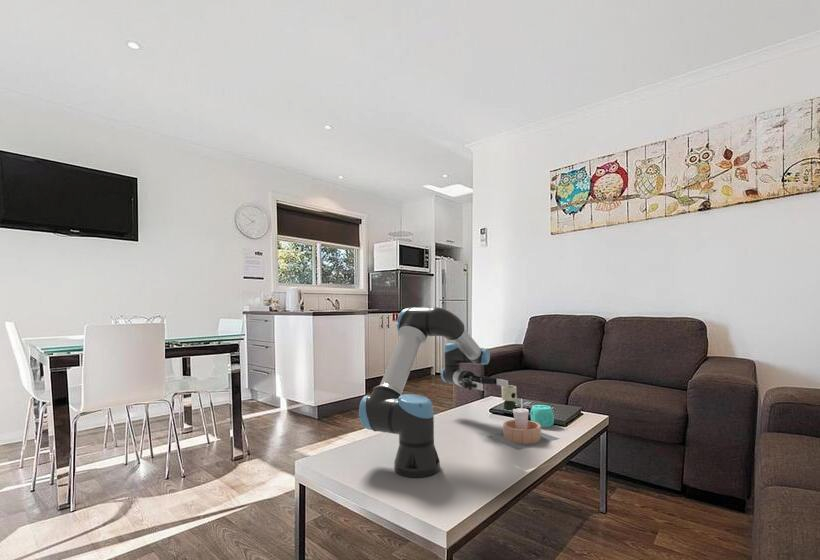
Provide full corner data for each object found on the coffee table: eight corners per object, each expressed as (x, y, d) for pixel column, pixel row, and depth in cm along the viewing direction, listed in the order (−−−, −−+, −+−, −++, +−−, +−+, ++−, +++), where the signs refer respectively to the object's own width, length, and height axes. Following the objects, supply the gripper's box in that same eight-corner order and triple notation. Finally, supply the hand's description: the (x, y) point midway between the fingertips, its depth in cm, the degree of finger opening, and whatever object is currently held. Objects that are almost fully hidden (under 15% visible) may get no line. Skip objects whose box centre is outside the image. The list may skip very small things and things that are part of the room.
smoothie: (531, 437, 161) (529, 401, 161) (514, 437, 162) (512, 401, 163) (529, 432, 167) (527, 397, 168) (513, 432, 168) (511, 397, 169)
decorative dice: (530, 423, 185) (530, 404, 186) (548, 422, 185) (548, 404, 185) (535, 428, 177) (534, 409, 178) (554, 428, 177) (553, 409, 178)
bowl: (522, 446, 155) (522, 432, 155) (496, 436, 167) (496, 423, 167) (548, 439, 162) (548, 426, 162) (522, 429, 174) (521, 417, 174)
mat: (518, 451, 151) (518, 449, 151) (486, 437, 166) (486, 436, 166) (559, 439, 162) (559, 438, 162) (525, 428, 178) (525, 427, 178)
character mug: (512, 417, 195) (511, 389, 195) (498, 415, 199) (497, 387, 200) (521, 412, 203) (520, 385, 204) (507, 410, 208) (506, 383, 208)
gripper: (485, 384, 198) (517, 391, 180) (442, 389, 186) (471, 398, 168) (485, 368, 199) (516, 373, 181) (442, 372, 187) (471, 379, 168)
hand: (495, 385), depth 174 cm, fingers open, 13 cm apart
